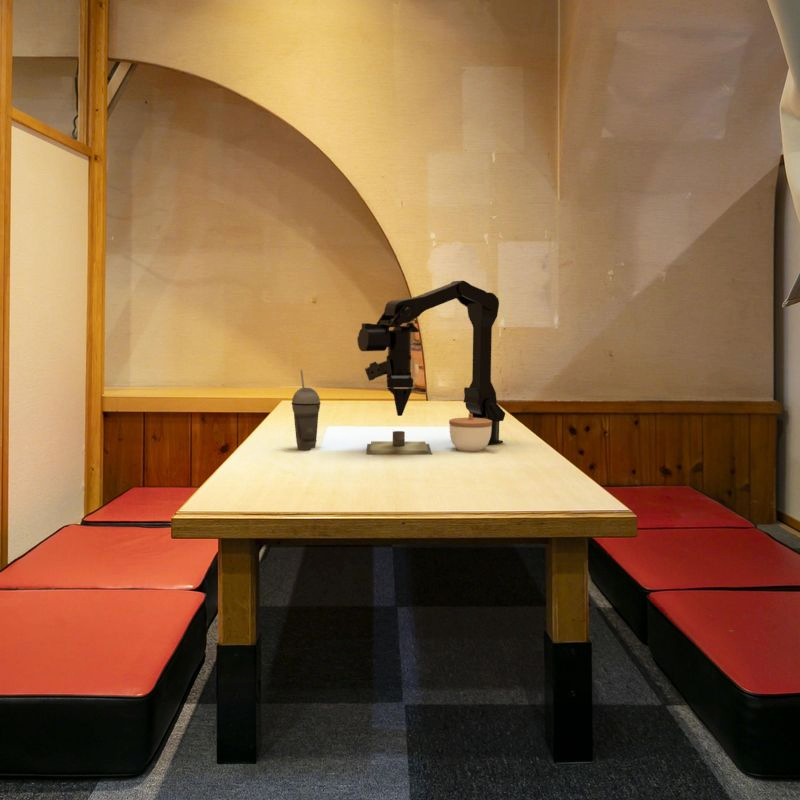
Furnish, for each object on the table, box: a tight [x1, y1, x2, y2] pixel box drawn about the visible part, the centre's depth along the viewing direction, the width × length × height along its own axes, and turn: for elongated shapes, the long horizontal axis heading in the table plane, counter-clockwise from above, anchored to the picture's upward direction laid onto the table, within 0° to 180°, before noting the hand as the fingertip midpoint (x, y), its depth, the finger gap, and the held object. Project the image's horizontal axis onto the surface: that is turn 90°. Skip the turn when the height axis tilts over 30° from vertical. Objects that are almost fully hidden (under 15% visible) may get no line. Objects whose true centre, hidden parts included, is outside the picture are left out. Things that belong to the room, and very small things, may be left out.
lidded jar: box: [448, 413, 492, 452], centre depth 191 cm, size 11×11×9 cm
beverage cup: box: [291, 369, 321, 451], centre depth 192 cm, size 7×7×20 cm
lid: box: [370, 430, 428, 454], centre depth 191 cm, size 14×14×4 cm
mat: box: [365, 443, 433, 456], centre depth 191 cm, size 16×16×1 cm
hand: (399, 413), depth 190 cm, fingers open, 9 cm apart
